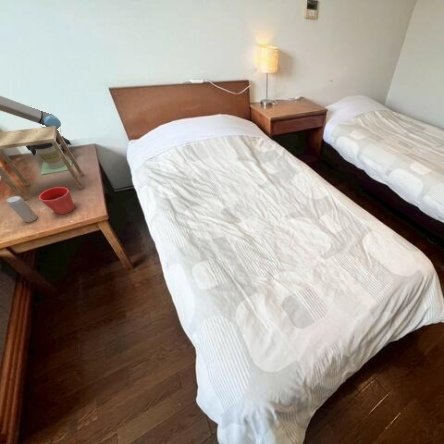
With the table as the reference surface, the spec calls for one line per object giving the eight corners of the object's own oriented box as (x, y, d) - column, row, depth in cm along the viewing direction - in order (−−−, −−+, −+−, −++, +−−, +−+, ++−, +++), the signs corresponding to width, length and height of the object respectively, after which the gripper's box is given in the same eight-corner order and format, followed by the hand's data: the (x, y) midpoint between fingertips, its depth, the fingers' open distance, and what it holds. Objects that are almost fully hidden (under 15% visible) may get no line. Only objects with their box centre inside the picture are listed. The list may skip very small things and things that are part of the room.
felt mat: (41, 175, 140) (40, 174, 140) (43, 163, 148) (42, 162, 148) (71, 169, 146) (71, 169, 146) (72, 159, 155) (71, 158, 154)
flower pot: (79, 211, 121) (68, 196, 115) (50, 219, 116) (37, 203, 110) (78, 200, 127) (68, 184, 121) (51, 206, 122) (39, 190, 116)
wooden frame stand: (22, 201, 123) (-24, 148, 104) (26, 184, 133) (-15, 133, 113) (84, 188, 135) (53, 138, 115) (83, 174, 144) (55, 125, 125)
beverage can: (32, 214, 117) (15, 194, 109) (40, 217, 116) (23, 197, 108) (21, 221, 114) (2, 200, 106) (29, 223, 113) (11, 203, 105)
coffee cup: (54, 171, 142) (38, 147, 132) (42, 167, 144) (25, 143, 134) (71, 164, 149) (57, 140, 139) (59, 160, 151) (44, 136, 141)
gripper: (78, 138, 163) (78, 153, 150) (28, 145, 152) (24, 161, 139) (72, 127, 158) (71, 141, 145) (20, 133, 147) (15, 148, 134)
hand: (48, 151), depth 142 cm, fingers open, 13 cm apart
